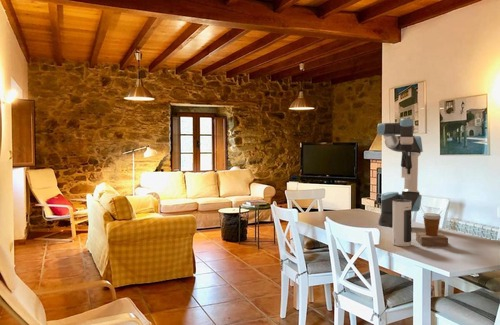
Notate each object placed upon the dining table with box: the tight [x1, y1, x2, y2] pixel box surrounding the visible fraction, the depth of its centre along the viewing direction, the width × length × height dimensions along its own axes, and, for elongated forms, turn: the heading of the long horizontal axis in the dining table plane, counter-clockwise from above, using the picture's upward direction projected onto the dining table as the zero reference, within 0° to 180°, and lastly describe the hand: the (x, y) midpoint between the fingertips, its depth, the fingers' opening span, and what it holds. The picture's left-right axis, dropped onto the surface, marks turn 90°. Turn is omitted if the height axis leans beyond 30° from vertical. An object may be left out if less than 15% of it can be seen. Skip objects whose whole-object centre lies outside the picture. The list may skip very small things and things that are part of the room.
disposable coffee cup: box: [422, 212, 442, 236], centre depth 238 cm, size 10×10×12 cm
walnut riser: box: [415, 231, 449, 248], centre depth 239 cm, size 14×14×5 cm
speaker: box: [392, 199, 412, 248], centre depth 236 cm, size 11×10×26 cm
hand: (406, 178), depth 252 cm, fingers open, 13 cm apart
